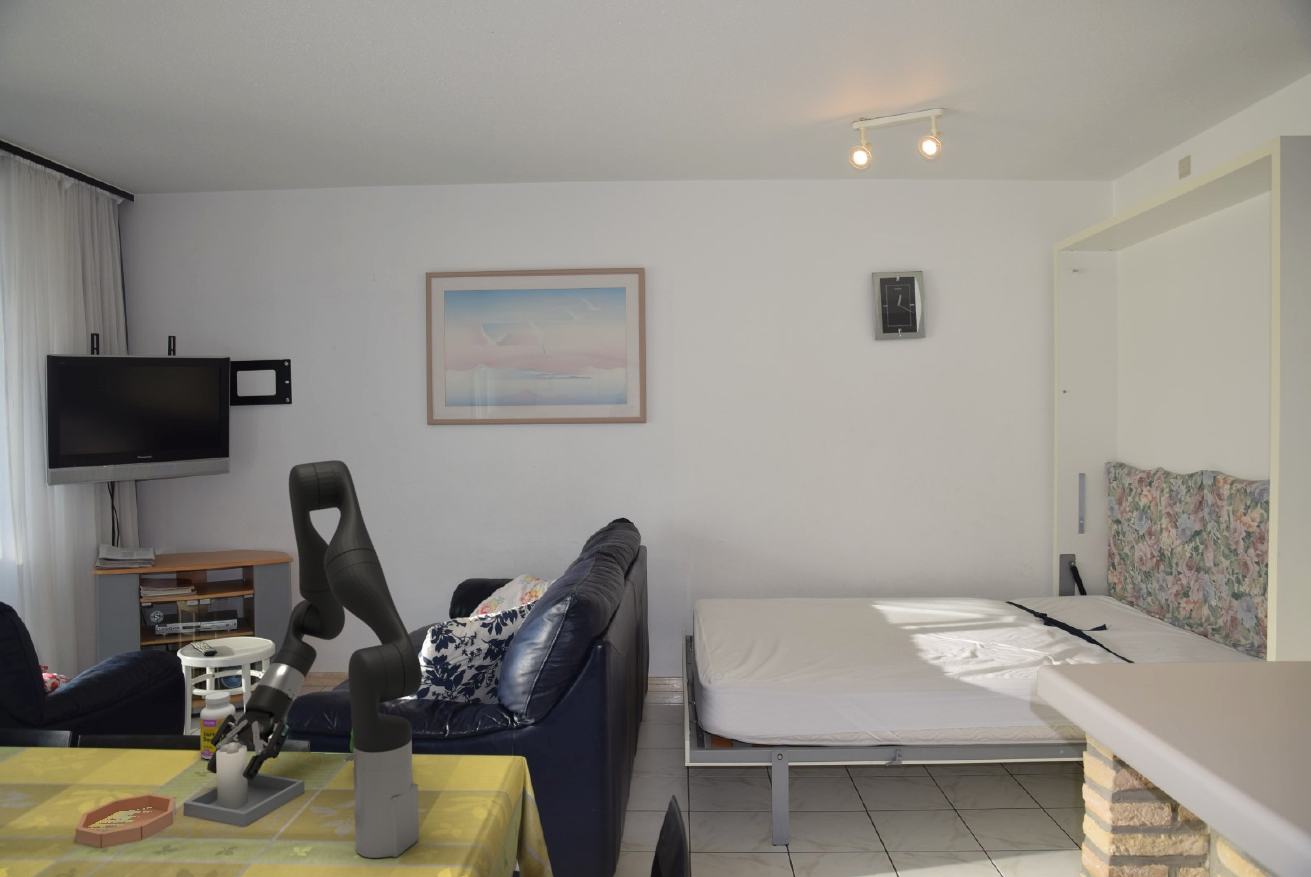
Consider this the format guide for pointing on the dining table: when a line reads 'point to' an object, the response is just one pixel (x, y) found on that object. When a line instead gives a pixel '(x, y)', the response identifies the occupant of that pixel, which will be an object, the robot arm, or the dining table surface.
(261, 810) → the parts tray
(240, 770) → the pebble jar
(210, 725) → the supplement bottle
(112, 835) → the orange shallow octagonal tray
